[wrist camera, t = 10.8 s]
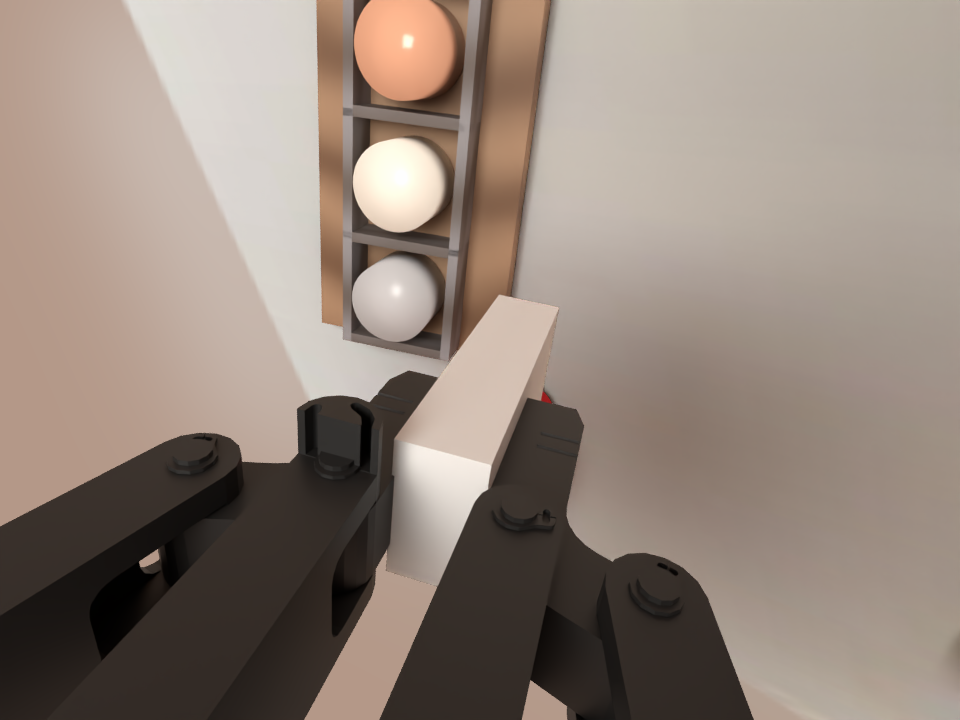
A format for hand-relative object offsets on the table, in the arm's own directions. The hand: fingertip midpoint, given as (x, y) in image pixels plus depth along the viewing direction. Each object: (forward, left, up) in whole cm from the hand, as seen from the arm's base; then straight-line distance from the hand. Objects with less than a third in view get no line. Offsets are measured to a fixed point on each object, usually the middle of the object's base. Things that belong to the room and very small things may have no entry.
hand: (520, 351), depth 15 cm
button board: (0, -11, -24) cm, 27 cm away
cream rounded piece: (0, -11, -22) cm, 24 cm away
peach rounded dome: (-7, -11, -22) cm, 25 cm away
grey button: (+7, -11, -22) cm, 26 cm away
